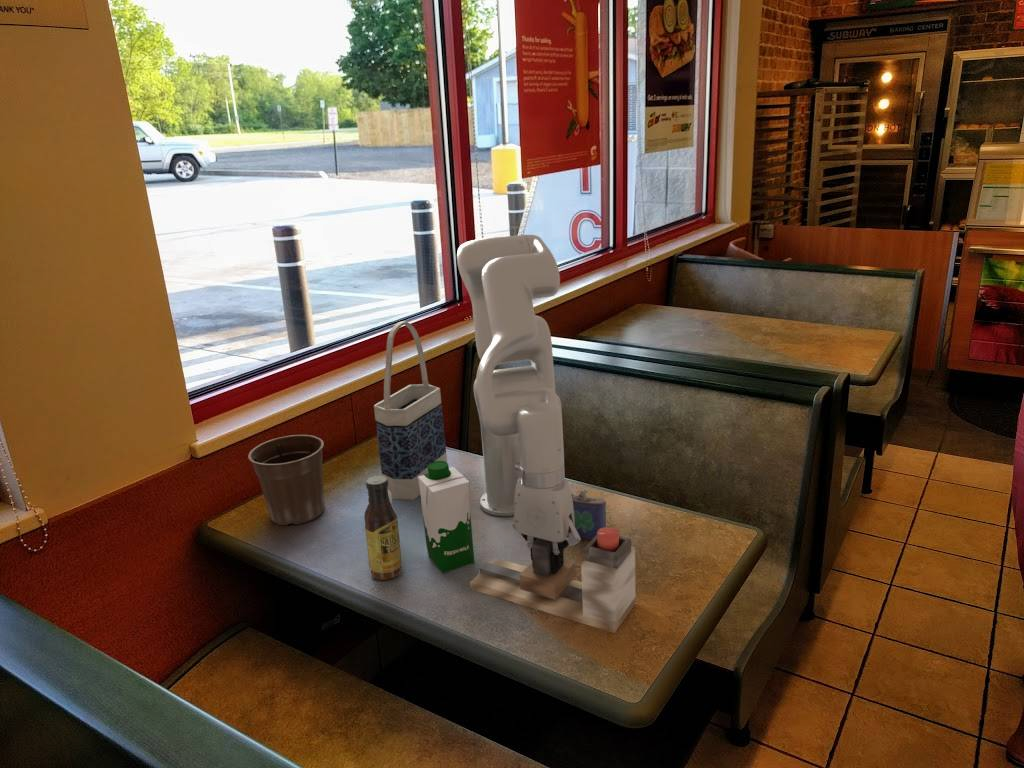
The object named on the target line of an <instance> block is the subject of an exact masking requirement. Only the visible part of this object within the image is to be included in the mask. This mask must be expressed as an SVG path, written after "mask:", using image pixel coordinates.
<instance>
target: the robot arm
mask: <svg viewBox="0 0 1024 768" xmlns="http://www.w3.org/2000/svg"><path fill="white" fill-rule="evenodd" d="M456 263H457V267H458V268H457V269H458V271H459V274H460V277H461V280H462V282H463V284H464V287H465V288H466V290H467V292H468V295H469V297H470V302H471V306H472V316H473V318H472V319H473V327H474V337H475V346H476V352H477V356H478V358H479V359H480V361H479V365H478V367H477V371H476V377H475V380H474V382H473V396H474V400H475V404H476V407H477V413H478V417H479V424H480V432H481V433H480V434H481V444H482V445H481V446H482V447H481V448H482V456H483V468H484V471H483V472H484V482H485V493H483V494H482V496H481V497H480V500H479V506H480V508H481V509H482V510H483V512H485V513H487V514H488V515H492V516H498V517H512V516H513V523H512V525H511V526H512V528H513V529H514V530H515V531H517V532H518V533H519V534H520V535H521V537H522V538H523V539H524V540H525V542H526V546H527V547H528V548H529V549H530V550H529V551H530V560H531V563H532V567H533V558H532V543H533V542H534V541H535V540H536V539H537V538H540V539H544V540H548V541H551V544H552V550H553V552H552V553H551V554H550V564H551V572H552V573H553V574H555V573H556V572H557V571H558V570H559V569H560V568H561V567H562V566H563V564H564V559H565V558H564V550H565V549H566V548H568V547H572V546H575V545H578V543H580V542H581V541H580V540H581V538H580V536H579V534H578V532H577V530H576V528H575V517H574V507H573V501H572V495H571V493H572V491H571V488H570V484H569V481H568V480H567V479H565V477H566V476H565V475H566V474H565V454H564V453H565V452H564V450H565V449H564V433H563V431H564V430H563V429H564V427H563V413H562V410H563V407H562V402H561V397H560V395H557V393H556V382H555V381H556V380H555V368H554V357H553V355H554V354H553V343H552V336H551V330H550V327H549V325H548V322H547V321H546V319H545V318H543V317H542V316H539V315H536V314H535V313H536V312H535V309H534V304H533V300H534V299H541V298H550V297H554V296H555V295H556V294H558V292H559V289H560V285H561V284H560V283H561V275H560V270H559V267H558V263H557V262H556V259H555V257H554V255H553V253H552V252H551V250H550V249H549V247H548V245H546V243H545V241H544V240H543V239H542V238H541V237H540V236H538V235H536V234H535V235H534V234H521V235H520V234H519V235H509V236H495V237H486V238H477V239H474V240H473V239H472V240H469V241H466V242H464V243H462V244H460V245H459V247H458V248H457V253H456ZM526 361H528V362H530V364H531V365H524V366H519V367H517V366H516V367H506V368H499V369H496V367H497V366H498V365H501V364H510V363H518V362H526ZM567 535H568V536H569V537H567Z"/></svg>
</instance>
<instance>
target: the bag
mask: <svg viewBox="0 0 1024 768" xmlns="http://www.w3.org/2000/svg"><path fill="white" fill-rule="evenodd" d="M403 326H405V327H406V328H408V330H409V331H410V333H411V335H412V337H413V339H414V340H413V341H414V343H415V347H416V350H417V355H418V361H419V366H420V373H421V381H422V383H421V384H420V383H419V384H407V386H405V387H403V388H401V389H399V390H397V392H395V393H393V394H391V378H392V369H393V368H392V367H393V351H394V350H393V347H394V338H395V336H396V333H397V332H398V331H399V330H400V329H401V328H402V327H403ZM386 339H387V340H386V355H385V368H384V378H383V379H384V380H383V399H382V400H381V401H378V402H377V403H376V404H374V405H373V411H374V420H375V426H376V427H375V428H376V436H377V444H378V454H379V462H380V464H379V465H380V470H381V472H380V473H381V476H385V477H386V478H387V479H388V487H387V488H388V490H389V491H390V493H391V494H392V499H395V500H416V499H417V498H418V497H419V496H421V495H420V488H419V481H418V476H422V475H424V474H428V465H429V464H430V463H432V462H435V461H445V462H447V463H448V457H447V456H448V455H447V447H446V438H445V437H446V436H445V435H446V434H445V429H444V417H443V406H442V395H441V388H440V387H438V386H435V385H432V384H430V383H429V380H428V379H429V378H428V374H427V373H428V371H427V367H426V366H427V365H426V360H425V355H424V350H423V349H424V348H423V345H422V341H421V339H420V336H419V334H418V332H417V329H416V328H415V326H414V325H412V324H411V323H410V322H408V321H403V320H402V321H399V322H396V323H395V324H394V325H393V326H392V328H391V329H390V330H389V333H388V335H387V338H386Z"/></svg>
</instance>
